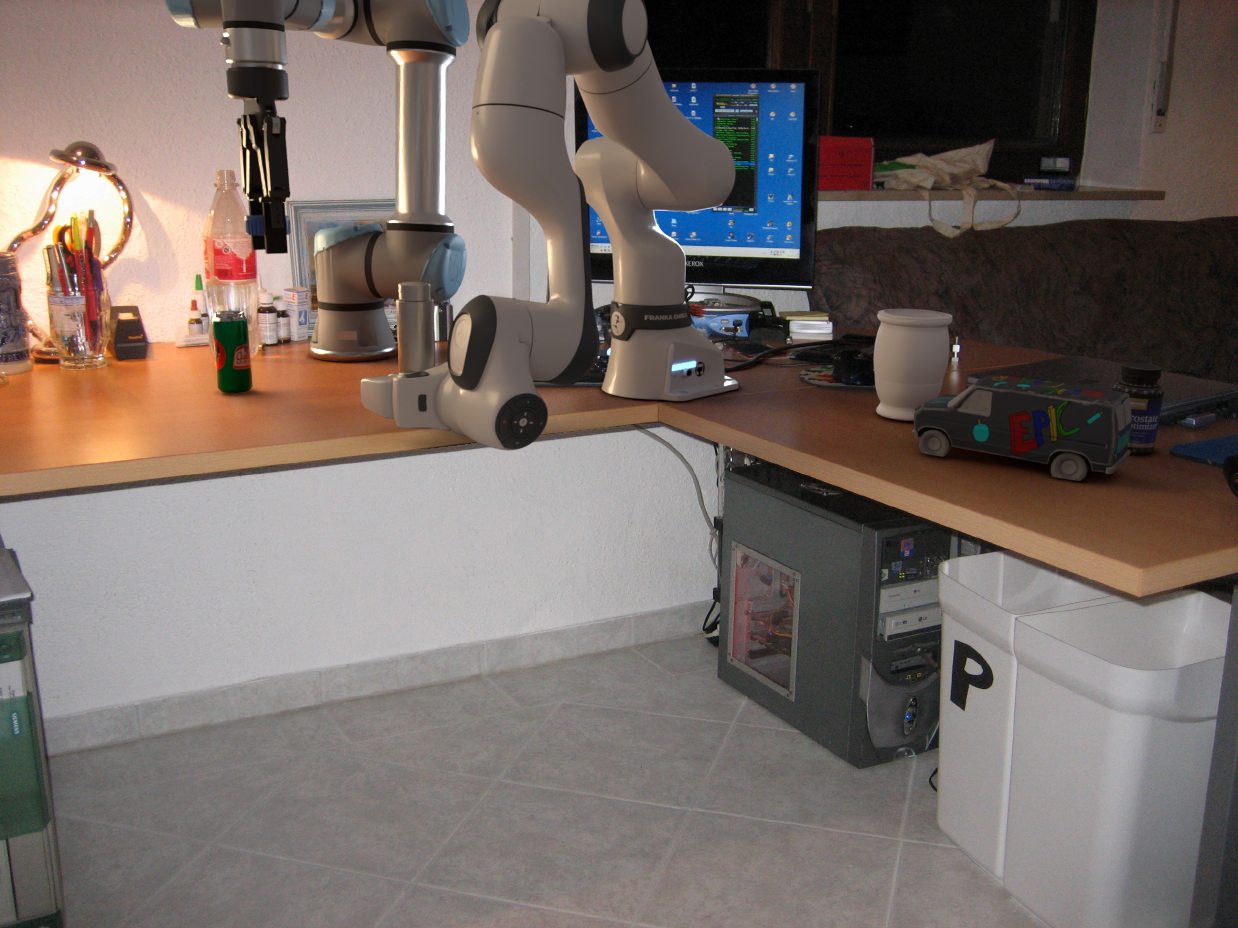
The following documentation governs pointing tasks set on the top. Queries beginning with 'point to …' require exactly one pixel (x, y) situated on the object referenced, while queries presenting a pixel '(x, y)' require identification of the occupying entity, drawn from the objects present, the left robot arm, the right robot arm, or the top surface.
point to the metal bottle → (415, 327)
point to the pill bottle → (1142, 403)
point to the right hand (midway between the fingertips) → (414, 377)
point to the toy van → (1031, 424)
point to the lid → (260, 225)
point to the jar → (909, 359)
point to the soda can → (232, 352)
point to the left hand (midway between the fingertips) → (269, 251)
